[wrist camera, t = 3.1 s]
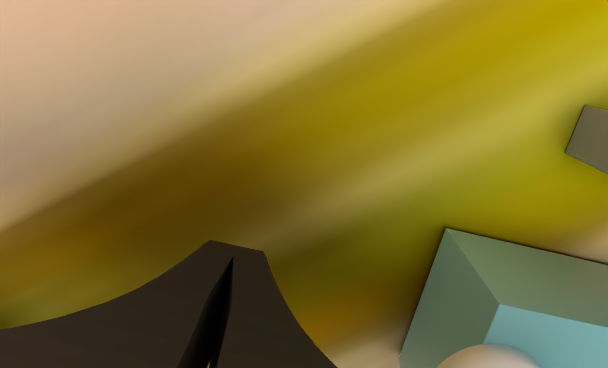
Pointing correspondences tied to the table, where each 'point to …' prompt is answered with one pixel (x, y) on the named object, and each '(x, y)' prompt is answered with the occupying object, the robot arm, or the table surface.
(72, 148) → the table surface
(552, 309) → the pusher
